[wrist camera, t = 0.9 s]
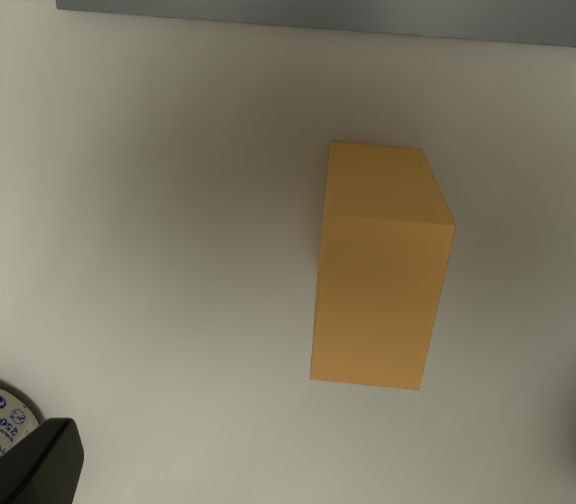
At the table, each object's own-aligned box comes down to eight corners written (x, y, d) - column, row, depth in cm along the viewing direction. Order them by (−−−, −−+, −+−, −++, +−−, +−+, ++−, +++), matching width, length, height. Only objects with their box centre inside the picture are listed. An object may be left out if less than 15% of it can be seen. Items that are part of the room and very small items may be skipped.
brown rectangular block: (421, 148, 18) (455, 225, 13) (398, 279, 20) (418, 390, 15) (330, 141, 18) (326, 214, 13) (317, 271, 21) (310, 378, 15)
